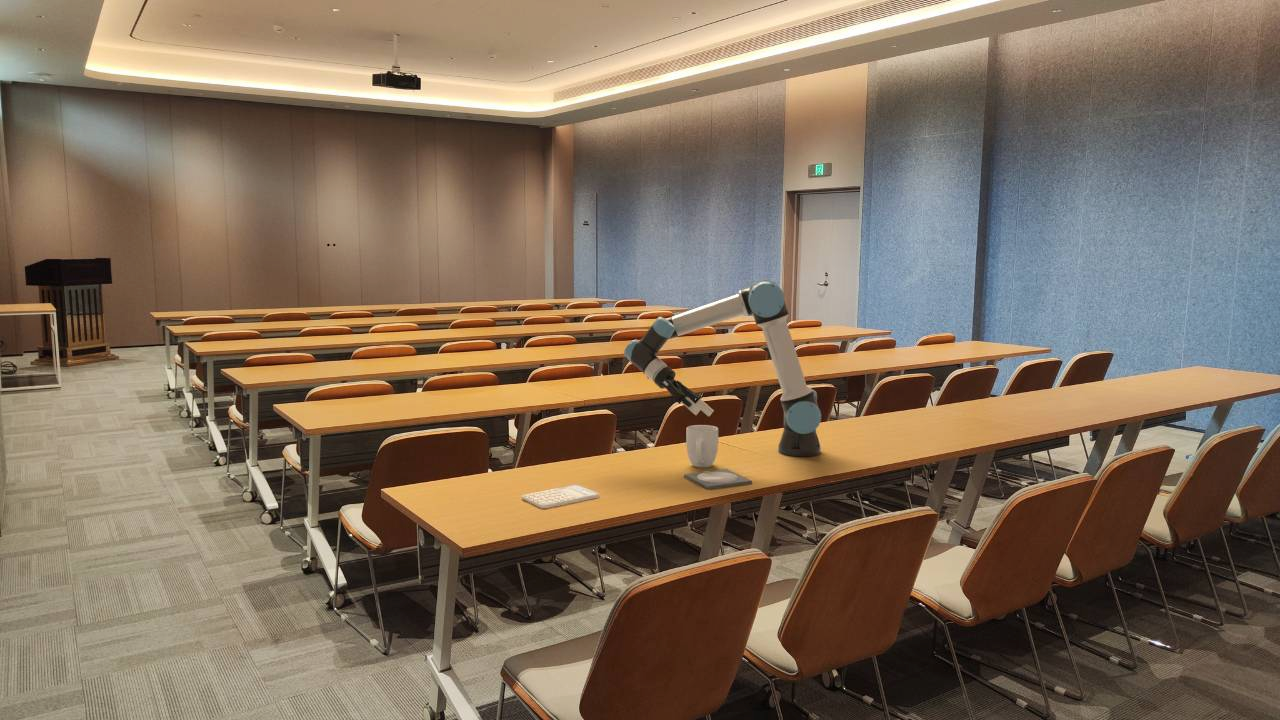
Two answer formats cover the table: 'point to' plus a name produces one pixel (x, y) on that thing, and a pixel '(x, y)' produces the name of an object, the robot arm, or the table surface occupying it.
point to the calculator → (560, 496)
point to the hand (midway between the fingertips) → (705, 413)
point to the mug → (702, 445)
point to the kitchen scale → (717, 479)
